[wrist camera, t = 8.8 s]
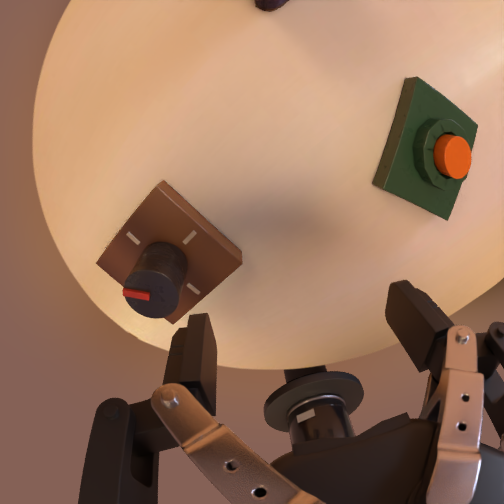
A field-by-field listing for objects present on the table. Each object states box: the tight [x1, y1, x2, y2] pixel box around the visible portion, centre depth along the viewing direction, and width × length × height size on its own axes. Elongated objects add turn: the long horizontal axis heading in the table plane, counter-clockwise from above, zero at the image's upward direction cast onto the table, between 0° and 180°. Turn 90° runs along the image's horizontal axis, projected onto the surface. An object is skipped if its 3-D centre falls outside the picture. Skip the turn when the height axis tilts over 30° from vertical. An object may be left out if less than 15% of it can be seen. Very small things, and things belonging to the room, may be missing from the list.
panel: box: [96, 180, 242, 324], centre depth 25 cm, size 10×10×3 cm
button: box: [433, 134, 471, 179], centre depth 19 cm, size 4×4×2 cm
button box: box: [373, 77, 478, 221], centre depth 22 cm, size 12×10×4 cm
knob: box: [123, 242, 188, 318], centre depth 22 cm, size 4×4×5 cm
